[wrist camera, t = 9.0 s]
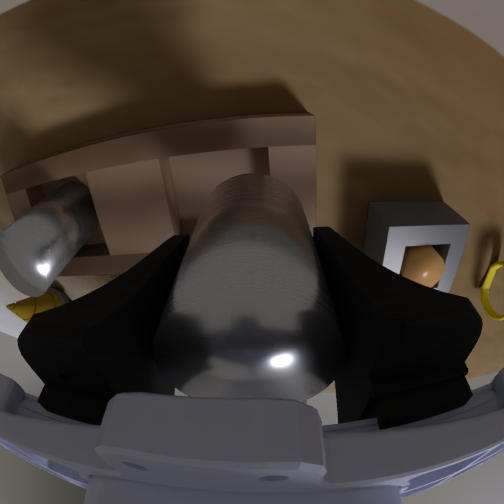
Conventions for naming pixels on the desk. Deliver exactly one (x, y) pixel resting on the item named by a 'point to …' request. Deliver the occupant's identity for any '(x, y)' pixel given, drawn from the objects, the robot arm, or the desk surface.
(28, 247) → the cylinder
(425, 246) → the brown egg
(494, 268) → the watch
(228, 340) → the steel billet
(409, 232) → the button housing
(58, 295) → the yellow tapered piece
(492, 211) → the desk surface
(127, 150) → the frame
